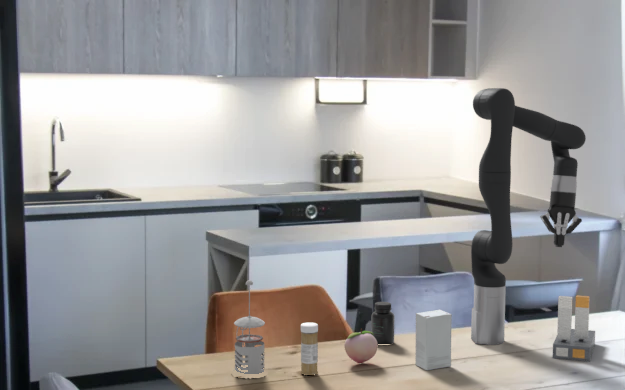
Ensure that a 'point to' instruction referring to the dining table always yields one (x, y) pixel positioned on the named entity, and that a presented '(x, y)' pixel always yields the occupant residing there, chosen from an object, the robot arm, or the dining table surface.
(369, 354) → the decorative fruit
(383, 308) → the supplement bottle
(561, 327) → the grey upright block
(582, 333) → the knob orange
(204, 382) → the dining table surface
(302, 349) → the sprinkles bottle
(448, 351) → the skincare box
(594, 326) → the dining table surface
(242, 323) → the french press
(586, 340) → the console
